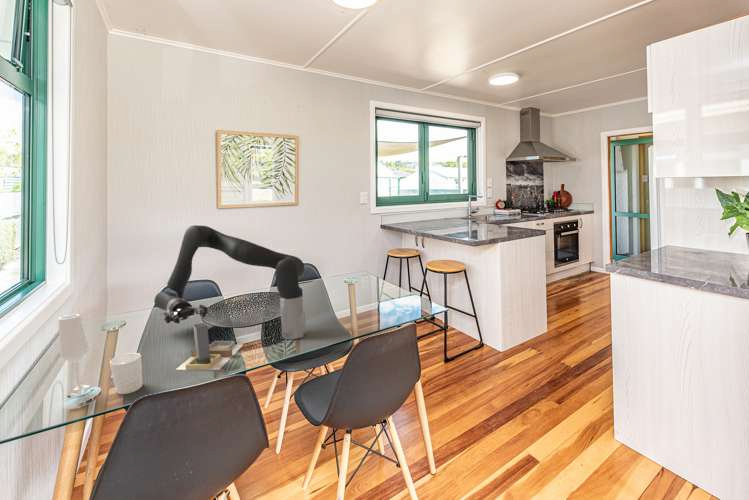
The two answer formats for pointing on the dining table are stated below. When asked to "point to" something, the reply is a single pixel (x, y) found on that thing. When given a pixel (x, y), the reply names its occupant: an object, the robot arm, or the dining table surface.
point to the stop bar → (202, 343)
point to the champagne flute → (73, 343)
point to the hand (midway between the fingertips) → (191, 317)
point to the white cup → (127, 372)
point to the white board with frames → (213, 356)
